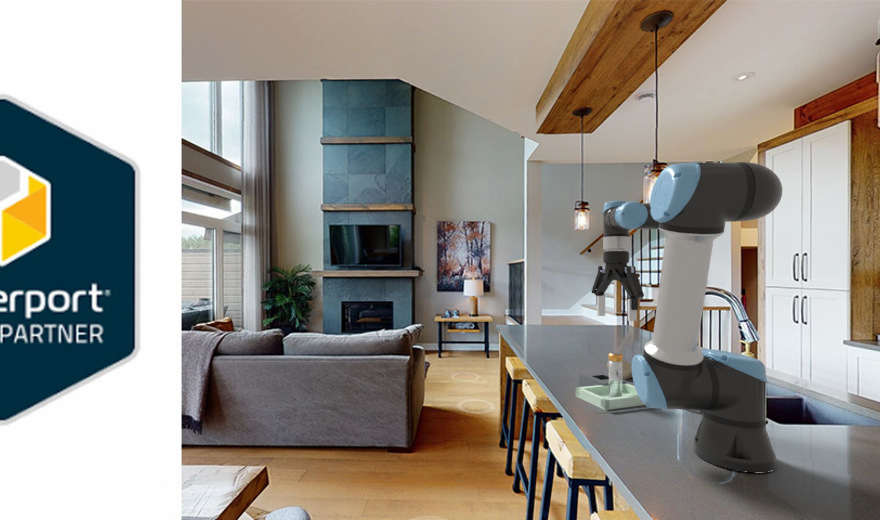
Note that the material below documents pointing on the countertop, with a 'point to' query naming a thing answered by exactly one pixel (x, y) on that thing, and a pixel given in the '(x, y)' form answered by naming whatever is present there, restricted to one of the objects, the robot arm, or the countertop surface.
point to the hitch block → (595, 379)
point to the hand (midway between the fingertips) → (615, 318)
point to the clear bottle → (615, 374)
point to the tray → (601, 393)
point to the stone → (625, 370)
